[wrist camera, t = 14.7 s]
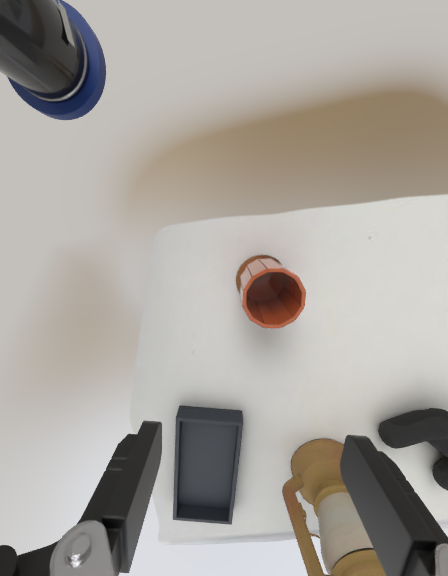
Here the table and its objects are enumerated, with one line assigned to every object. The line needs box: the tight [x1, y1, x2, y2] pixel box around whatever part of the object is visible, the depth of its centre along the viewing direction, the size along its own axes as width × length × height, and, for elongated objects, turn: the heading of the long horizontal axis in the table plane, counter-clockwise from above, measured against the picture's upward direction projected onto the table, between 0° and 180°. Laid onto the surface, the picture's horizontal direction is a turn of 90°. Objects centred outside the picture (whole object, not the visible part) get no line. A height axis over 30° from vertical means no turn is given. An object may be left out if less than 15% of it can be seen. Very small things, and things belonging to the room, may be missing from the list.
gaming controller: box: [379, 408, 448, 490], centre depth 37 cm, size 17×6×10 cm
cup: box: [239, 257, 306, 328], centre depth 29 cm, size 6×6×9 cm
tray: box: [173, 406, 243, 524], centre depth 41 cm, size 21×10×3 cm, turn 176°
